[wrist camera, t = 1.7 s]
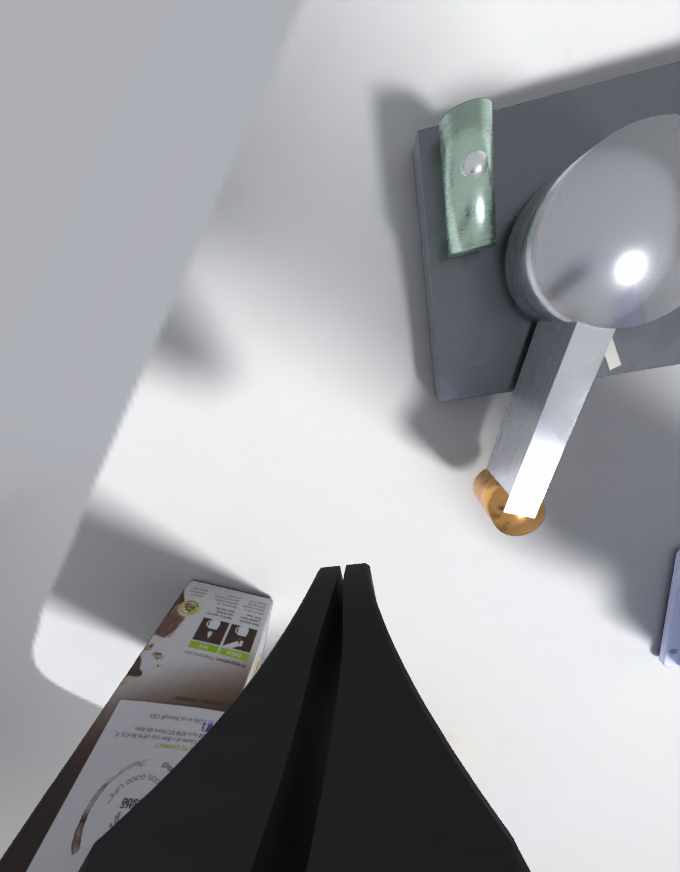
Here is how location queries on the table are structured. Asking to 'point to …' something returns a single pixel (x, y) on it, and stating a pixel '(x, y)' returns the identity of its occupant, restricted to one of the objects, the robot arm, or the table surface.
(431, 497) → the table surface
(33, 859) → the coffee box
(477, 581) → the table surface
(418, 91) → the table surface
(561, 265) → the silver pan
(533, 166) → the plate
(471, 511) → the table surface
